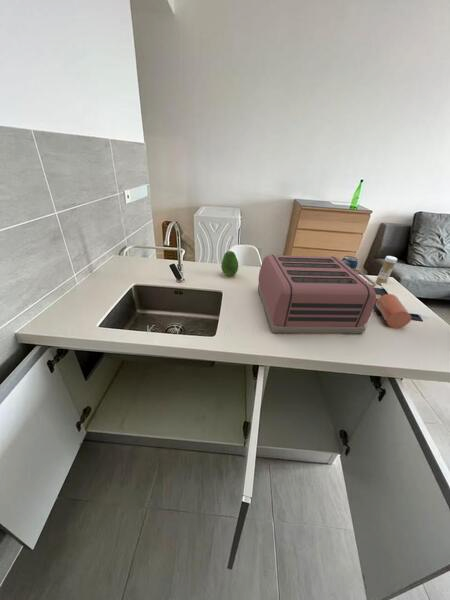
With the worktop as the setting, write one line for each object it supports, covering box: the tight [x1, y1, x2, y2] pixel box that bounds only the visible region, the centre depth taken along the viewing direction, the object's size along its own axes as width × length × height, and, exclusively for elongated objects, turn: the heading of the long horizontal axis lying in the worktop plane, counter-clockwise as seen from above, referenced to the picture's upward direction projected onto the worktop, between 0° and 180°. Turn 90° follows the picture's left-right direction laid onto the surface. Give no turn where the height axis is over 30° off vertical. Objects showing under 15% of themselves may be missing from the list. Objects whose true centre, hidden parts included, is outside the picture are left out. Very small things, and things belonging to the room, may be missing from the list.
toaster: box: [257, 254, 377, 334], centre depth 90 cm, size 30×36×17 cm
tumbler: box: [376, 293, 412, 329], centre depth 89 cm, size 7×7×11 cm
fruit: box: [220, 250, 239, 277], centre depth 113 cm, size 8×8×12 cm
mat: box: [373, 287, 424, 322], centre depth 102 cm, size 16×24×1 cm, turn 169°
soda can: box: [340, 255, 359, 269], centre depth 114 cm, size 7×7×12 cm
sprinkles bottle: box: [375, 255, 398, 286], centre depth 113 cm, size 5×5×13 cm
